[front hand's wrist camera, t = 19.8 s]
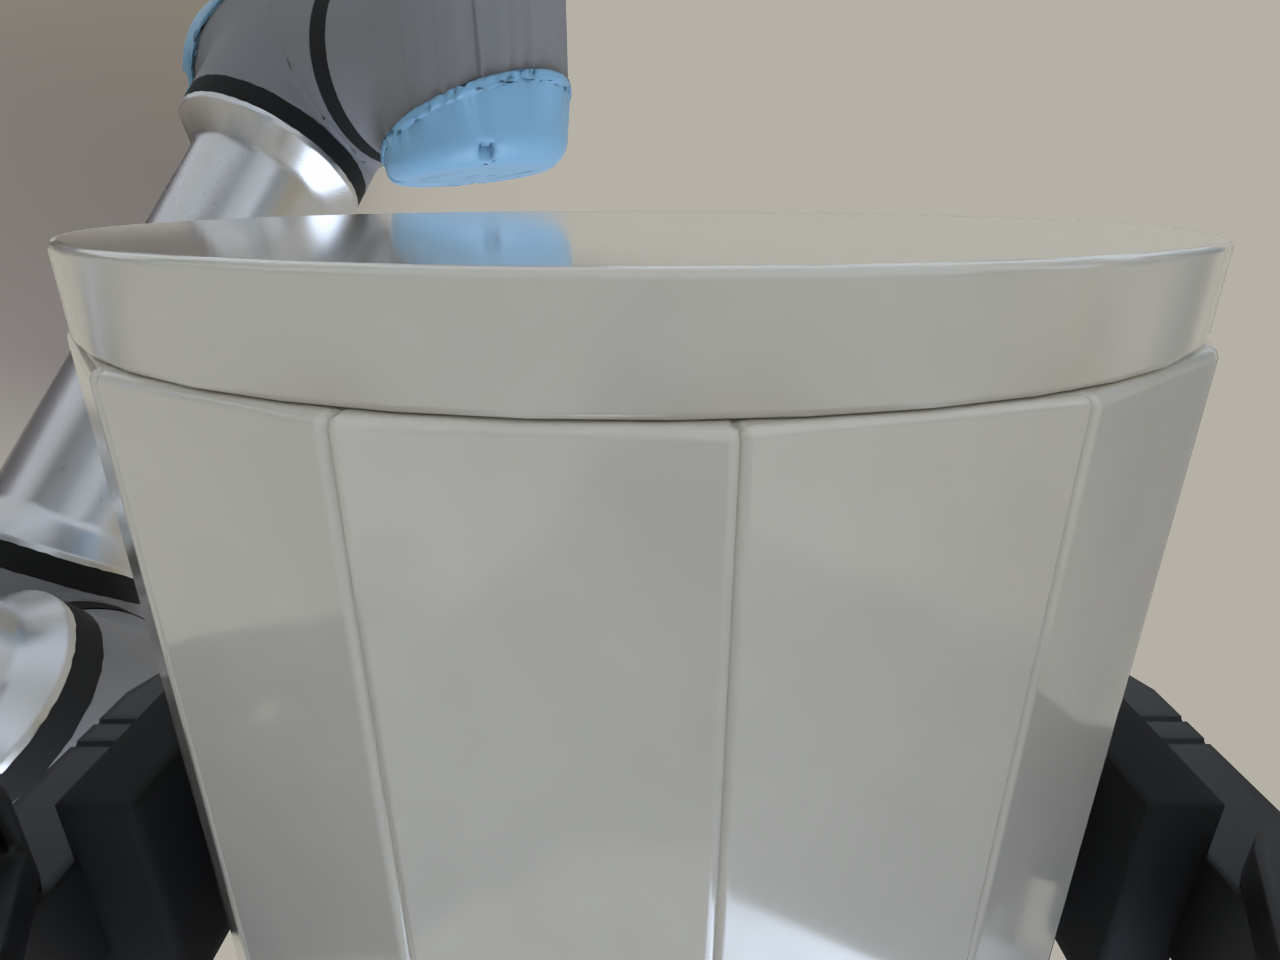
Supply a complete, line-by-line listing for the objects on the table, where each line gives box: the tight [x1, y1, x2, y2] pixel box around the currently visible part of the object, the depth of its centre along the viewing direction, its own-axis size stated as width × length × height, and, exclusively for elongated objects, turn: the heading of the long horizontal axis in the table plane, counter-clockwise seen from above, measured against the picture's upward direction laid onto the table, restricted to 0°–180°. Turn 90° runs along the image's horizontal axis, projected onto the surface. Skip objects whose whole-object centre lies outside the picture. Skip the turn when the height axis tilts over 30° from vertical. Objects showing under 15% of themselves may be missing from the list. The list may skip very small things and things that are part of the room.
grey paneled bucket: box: [48, 211, 1233, 960], centre depth 9 cm, size 10×10×10 cm
